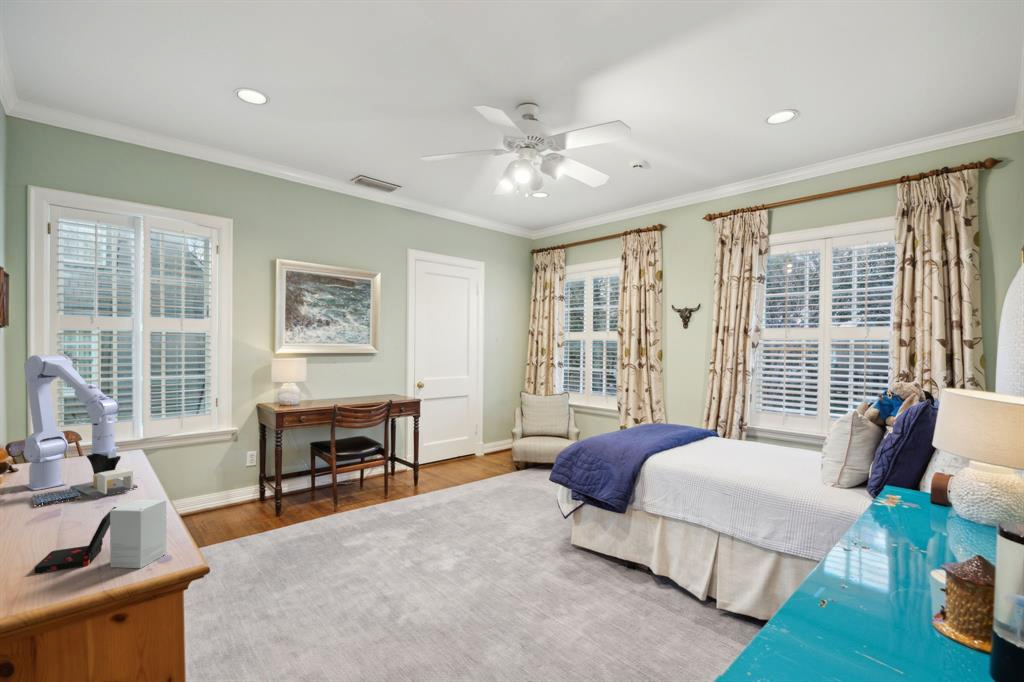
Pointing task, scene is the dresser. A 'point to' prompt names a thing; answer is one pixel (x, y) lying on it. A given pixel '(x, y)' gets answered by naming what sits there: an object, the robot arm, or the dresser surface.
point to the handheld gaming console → (75, 552)
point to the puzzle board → (92, 493)
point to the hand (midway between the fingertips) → (103, 476)
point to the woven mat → (55, 498)
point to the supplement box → (137, 533)
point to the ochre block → (109, 482)
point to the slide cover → (114, 474)
